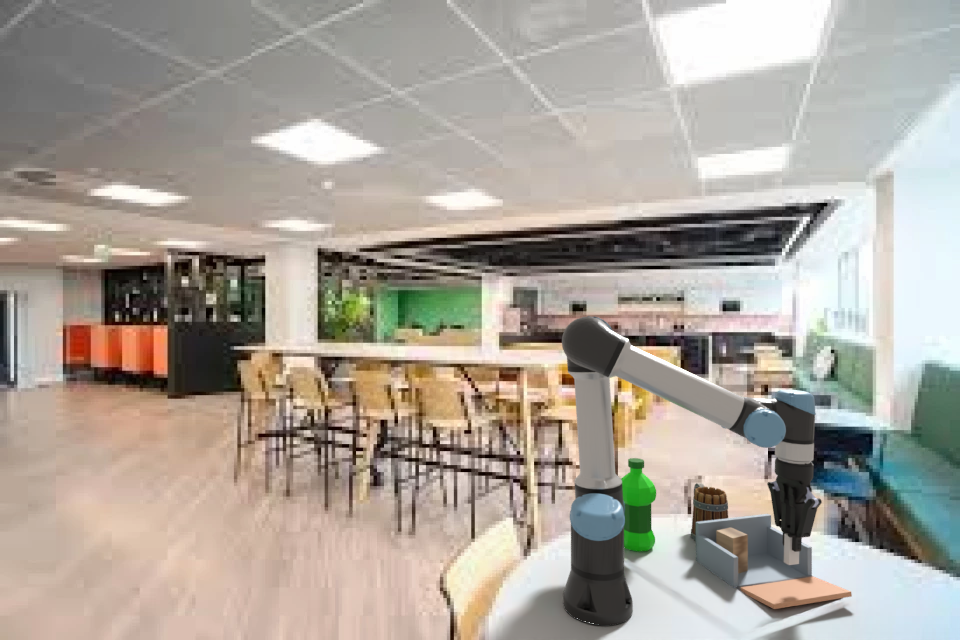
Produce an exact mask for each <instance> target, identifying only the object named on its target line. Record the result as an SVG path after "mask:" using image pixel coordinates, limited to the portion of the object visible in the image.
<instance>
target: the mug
mask: <svg viewBox="0 0 960 640" xmlns="http://www.w3.org/2000/svg"><path fill="white" fill-rule="evenodd" d="M727 497H728V496H727V493H726V491H725V490H722V489H720V488H715V487H712V486H705V485H704V483H702V482H698V483H697V482H696V483H695V484H694V487H693V499H692V505H693V507H692V517H691V518H692V520H691V521H692V522H691V529H690V539H691V540H693V542H695V543H696V522H699V521H708V520H717V519H726V518H729V511H728V510H729V502H728V498H727Z"/></svg>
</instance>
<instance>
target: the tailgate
mask: <svg viewBox="0 0 960 640" xmlns="http://www.w3.org/2000/svg"><path fill="white" fill-rule="evenodd" d="M736 588H737V589H738V590H740V591H741V592H742V593H744V594H745V595H747V596H748V597H750V598H752V599H753V600H755V601H758V602H759V603H762V604H763V605H765V606H767V607H770V608H771V609H773V610H778V609H784V608H789V607H797V606H802V605H807V604H809V605H810V604H813V603H821V602H825V601H833V600H837V599H843V598H851V597H852V595H853V594H852V591H851V590H848V589H845V588H843V587H841V586H839V585H836V584H834V583H830V582H828V581H826V580H823V579H821V578H818V577H816V576H813V575H808V576H802V577H795V578H788V579H782V580H775V581H768V582H762V583H755V584H748V585H742V586H738V587H736Z"/></svg>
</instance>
